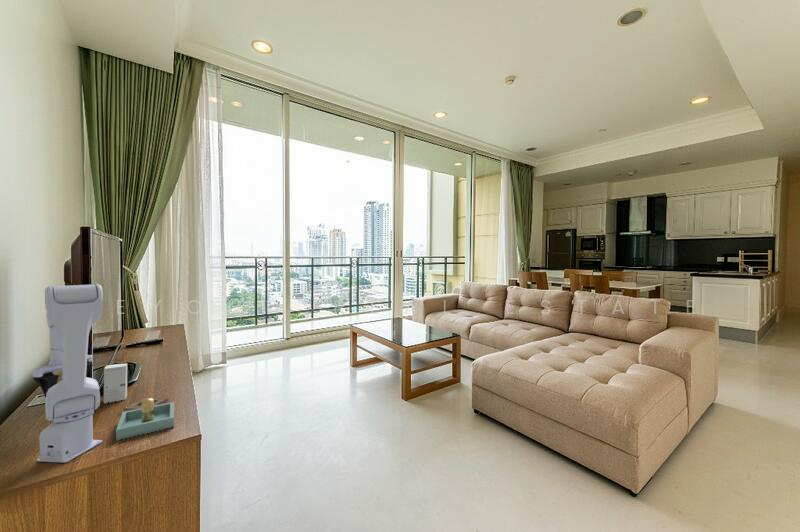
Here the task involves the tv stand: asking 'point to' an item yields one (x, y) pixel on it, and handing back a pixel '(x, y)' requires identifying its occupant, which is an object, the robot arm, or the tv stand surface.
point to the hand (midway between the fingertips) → (65, 393)
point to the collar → (138, 404)
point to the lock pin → (147, 409)
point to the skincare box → (115, 382)
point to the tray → (134, 426)
